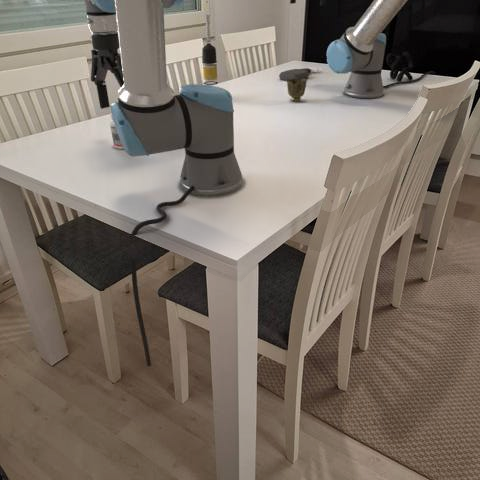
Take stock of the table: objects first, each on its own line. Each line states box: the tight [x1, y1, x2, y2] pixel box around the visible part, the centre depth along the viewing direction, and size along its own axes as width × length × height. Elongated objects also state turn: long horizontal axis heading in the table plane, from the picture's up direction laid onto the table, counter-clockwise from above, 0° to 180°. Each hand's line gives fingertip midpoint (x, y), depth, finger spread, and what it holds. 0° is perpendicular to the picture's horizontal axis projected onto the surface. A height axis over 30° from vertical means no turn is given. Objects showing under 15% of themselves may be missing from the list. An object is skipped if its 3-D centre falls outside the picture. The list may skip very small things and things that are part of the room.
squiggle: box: [385, 51, 414, 82], centre depth 198 cm, size 11×10×15 cm
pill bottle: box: [109, 113, 124, 150], centre depth 132 cm, size 5×5×10 cm
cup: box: [286, 78, 308, 103], centre depth 171 cm, size 8×7×8 cm
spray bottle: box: [278, 66, 323, 81], centre depth 210 cm, size 3×11×25 cm
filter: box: [201, 14, 219, 86], centre depth 171 cm, size 6×6×30 cm
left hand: (117, 112), depth 129 cm, fingers open, 13 cm apart
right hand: (307, 4), depth 170 cm, fingers open, 13 cm apart
